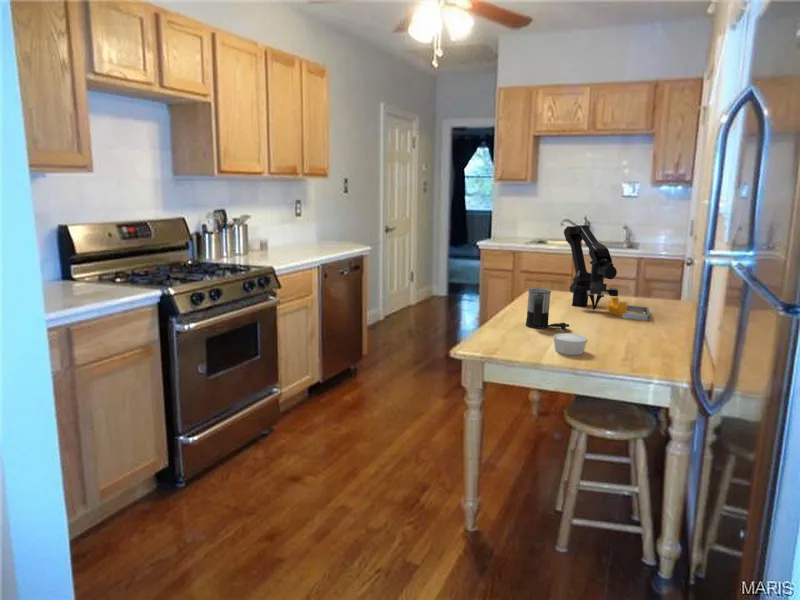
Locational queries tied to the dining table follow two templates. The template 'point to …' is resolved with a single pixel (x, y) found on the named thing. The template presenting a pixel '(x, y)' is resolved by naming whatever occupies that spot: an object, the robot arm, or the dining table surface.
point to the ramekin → (569, 343)
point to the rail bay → (637, 316)
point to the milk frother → (540, 309)
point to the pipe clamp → (616, 307)
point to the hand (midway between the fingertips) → (594, 309)
